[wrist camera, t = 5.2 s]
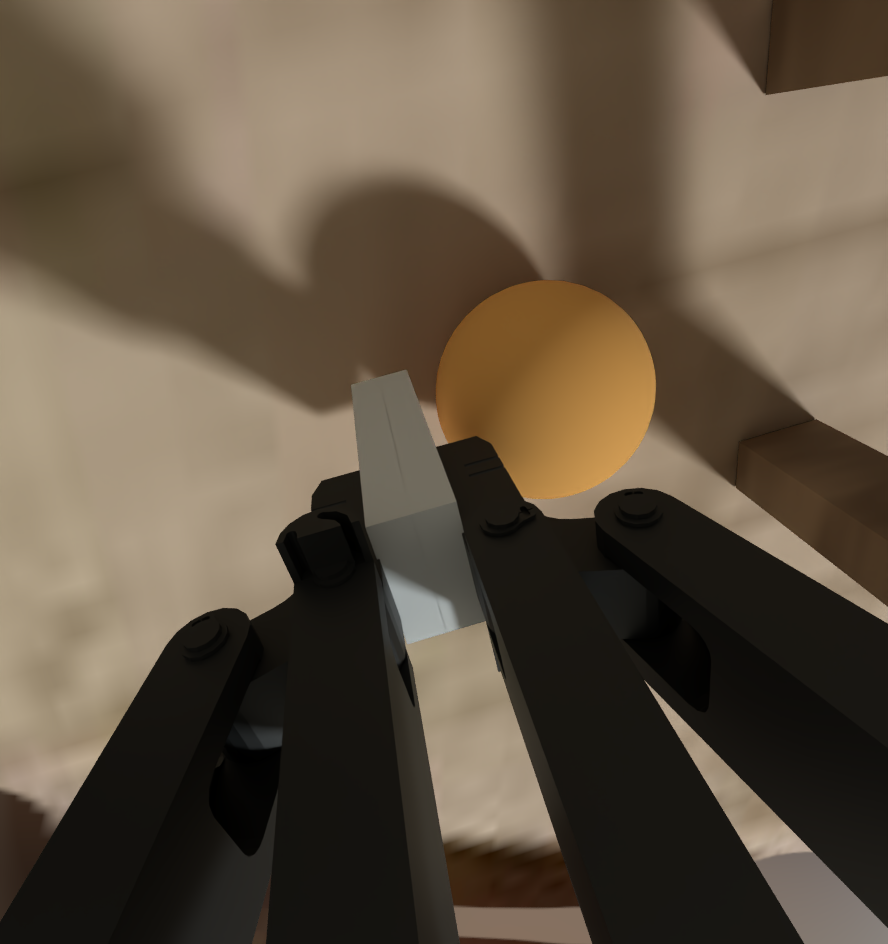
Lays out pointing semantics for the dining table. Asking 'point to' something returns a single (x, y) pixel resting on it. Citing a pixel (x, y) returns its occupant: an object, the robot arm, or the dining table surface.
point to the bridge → (814, 443)
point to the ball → (549, 385)
